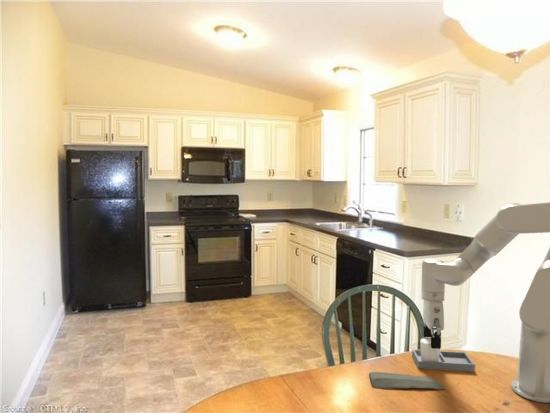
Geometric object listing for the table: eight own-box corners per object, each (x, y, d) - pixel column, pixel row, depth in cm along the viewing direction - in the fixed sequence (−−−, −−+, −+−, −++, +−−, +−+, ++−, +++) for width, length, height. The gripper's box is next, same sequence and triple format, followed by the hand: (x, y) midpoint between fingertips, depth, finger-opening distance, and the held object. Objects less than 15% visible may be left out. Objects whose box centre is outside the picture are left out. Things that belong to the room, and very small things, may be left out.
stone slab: (367, 378, 140) (373, 389, 130) (367, 369, 140) (373, 380, 130) (435, 381, 139) (446, 393, 129) (435, 373, 139) (446, 384, 129)
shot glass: (442, 359, 148) (442, 340, 148) (437, 366, 143) (438, 347, 142) (422, 354, 152) (423, 335, 152) (417, 361, 147) (417, 342, 146)
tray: (412, 355, 153) (412, 349, 153) (464, 358, 151) (465, 352, 151) (418, 368, 144) (418, 361, 143) (474, 371, 142) (475, 364, 142)
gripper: (451, 302, 137) (450, 353, 138) (437, 288, 154) (436, 333, 155) (428, 302, 137) (427, 352, 139) (416, 287, 154) (415, 332, 156)
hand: (431, 342), depth 147 cm, fingers open, 9 cm apart
